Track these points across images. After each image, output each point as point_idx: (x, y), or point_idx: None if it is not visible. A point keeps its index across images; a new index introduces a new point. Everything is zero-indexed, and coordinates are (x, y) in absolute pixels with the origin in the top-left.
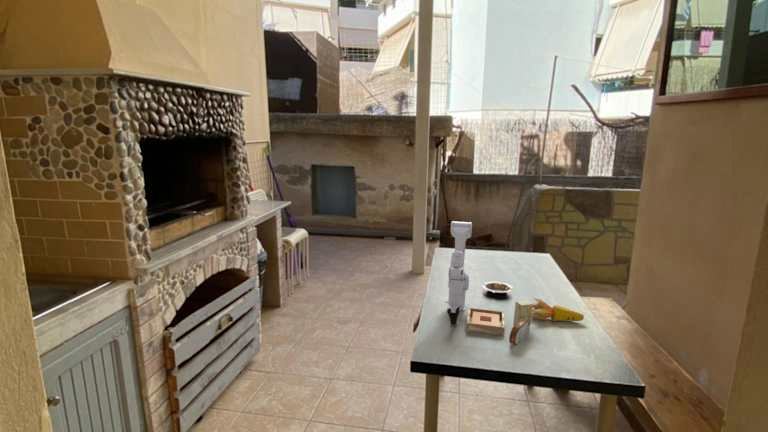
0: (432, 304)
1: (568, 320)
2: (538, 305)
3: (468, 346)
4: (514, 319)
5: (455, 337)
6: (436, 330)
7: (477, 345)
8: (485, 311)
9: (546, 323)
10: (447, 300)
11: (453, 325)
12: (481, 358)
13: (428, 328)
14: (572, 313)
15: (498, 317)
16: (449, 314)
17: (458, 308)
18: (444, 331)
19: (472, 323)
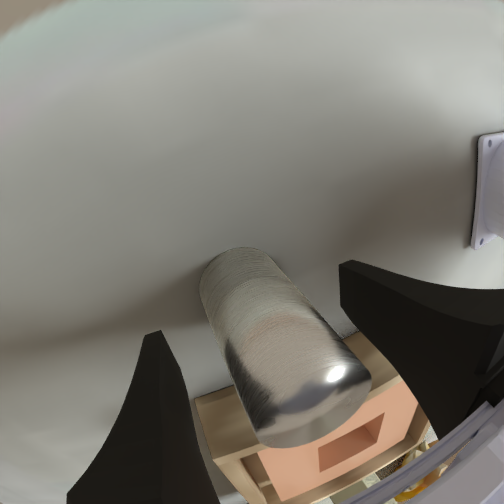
0: (481, 12)
1: None
2: (436, 474)
3: (33, 452)
4: (360, 487)
5: (46, 380)
6: (21, 183)
7: (81, 472)
8: None
9: (382, 472)
10: (483, 500)
11: (204, 309)
12: (13, 488)
13: (15, 80)
14: (402, 499)
15: (375, 455)
16: (98, 474)
17: (409, 380)
18: (57, 267)
19: (228, 475)
